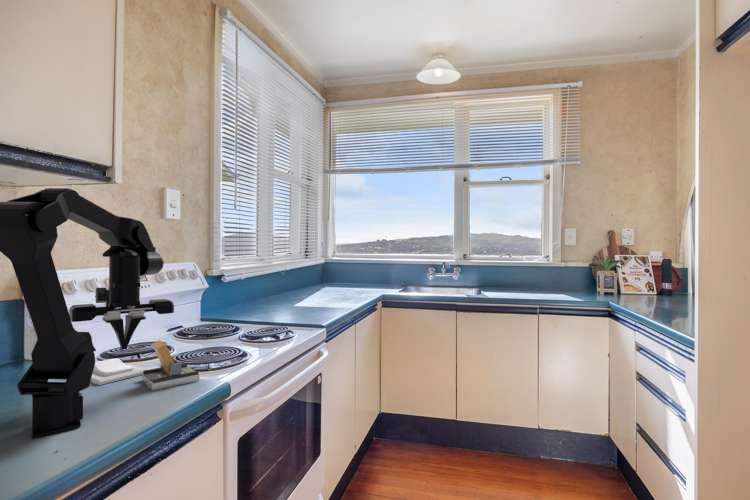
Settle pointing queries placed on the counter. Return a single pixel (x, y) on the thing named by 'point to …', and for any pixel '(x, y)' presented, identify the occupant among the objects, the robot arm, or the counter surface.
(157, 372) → the toggle switch base
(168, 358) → the lever
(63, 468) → the counter surface
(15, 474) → the counter surface
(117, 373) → the light switch
